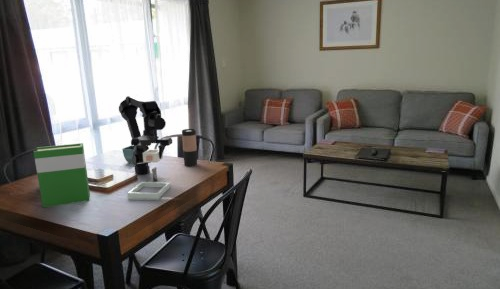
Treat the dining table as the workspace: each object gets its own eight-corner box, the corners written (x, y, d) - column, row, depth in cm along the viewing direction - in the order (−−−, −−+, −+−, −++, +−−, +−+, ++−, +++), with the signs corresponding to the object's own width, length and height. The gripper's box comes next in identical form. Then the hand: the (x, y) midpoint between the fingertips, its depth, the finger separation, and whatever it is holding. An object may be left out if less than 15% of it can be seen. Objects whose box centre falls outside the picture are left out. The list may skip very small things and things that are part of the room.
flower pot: (145, 160, 213) (143, 146, 210) (136, 164, 205) (134, 149, 202) (132, 159, 215) (131, 145, 213) (123, 163, 207) (121, 148, 205)
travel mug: (181, 165, 201) (179, 131, 196) (188, 162, 208) (186, 128, 203) (193, 167, 198) (191, 132, 193) (200, 163, 205) (198, 129, 200)
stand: (141, 186, 170) (140, 172, 169) (150, 179, 180) (149, 165, 178) (161, 186, 169) (160, 172, 167) (169, 179, 178) (168, 166, 177)
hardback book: (42, 207, 148) (33, 151, 142) (45, 200, 155) (36, 147, 149) (89, 200, 154) (81, 146, 149) (89, 194, 161) (82, 143, 155)
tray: (128, 199, 155) (127, 192, 154) (142, 187, 168) (141, 181, 168) (158, 200, 153) (158, 194, 152) (170, 188, 166) (170, 182, 166)
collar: (142, 163, 169) (141, 153, 168) (149, 158, 177) (148, 149, 176) (156, 163, 168) (155, 154, 167) (162, 158, 176) (162, 149, 175)
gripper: (123, 130, 163) (127, 163, 167) (162, 130, 160) (165, 163, 164) (134, 125, 174) (137, 156, 177) (171, 125, 171) (173, 157, 175)
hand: (153, 158), depth 173 cm, fingers closed on collar, 7 cm apart
